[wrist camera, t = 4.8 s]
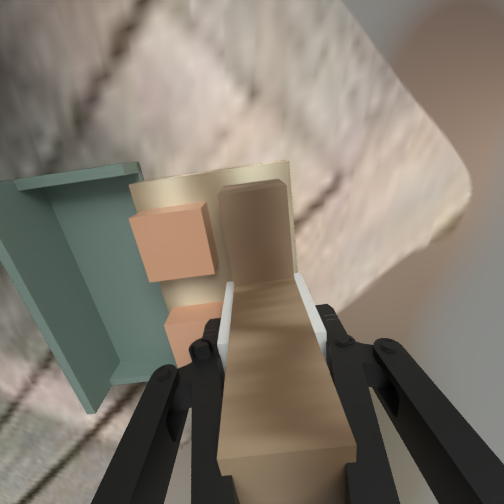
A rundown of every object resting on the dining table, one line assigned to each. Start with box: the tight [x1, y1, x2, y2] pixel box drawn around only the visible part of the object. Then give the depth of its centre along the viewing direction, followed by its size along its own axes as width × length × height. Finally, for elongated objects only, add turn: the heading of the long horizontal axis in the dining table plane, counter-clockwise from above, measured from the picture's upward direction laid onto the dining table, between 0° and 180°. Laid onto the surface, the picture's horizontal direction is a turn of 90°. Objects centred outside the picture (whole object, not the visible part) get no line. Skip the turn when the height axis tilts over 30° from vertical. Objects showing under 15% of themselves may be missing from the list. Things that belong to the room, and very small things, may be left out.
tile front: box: [128, 201, 219, 282], centre depth 19 cm, size 5×5×2 cm
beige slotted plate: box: [129, 160, 298, 314], centre depth 23 cm, size 12×18×3 cm, turn 8°
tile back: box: [164, 301, 224, 368], centre depth 22 cm, size 5×5×2 cm
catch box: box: [0, 162, 178, 414], centre depth 22 cm, size 9×21×6 cm, turn 8°
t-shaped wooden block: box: [217, 178, 357, 504], centre depth 14 cm, size 4×16×14 cm, turn 8°
